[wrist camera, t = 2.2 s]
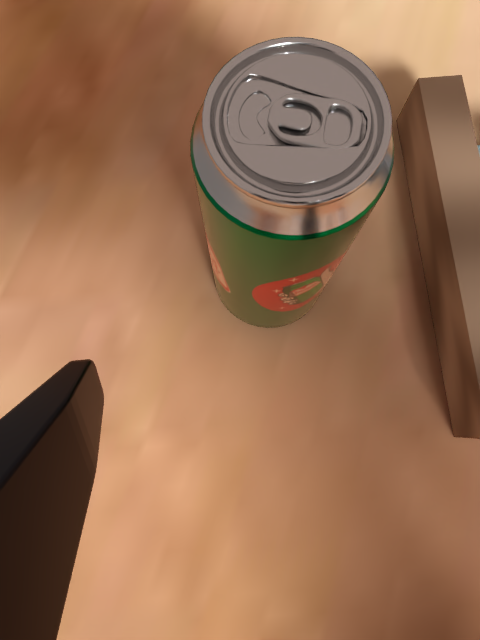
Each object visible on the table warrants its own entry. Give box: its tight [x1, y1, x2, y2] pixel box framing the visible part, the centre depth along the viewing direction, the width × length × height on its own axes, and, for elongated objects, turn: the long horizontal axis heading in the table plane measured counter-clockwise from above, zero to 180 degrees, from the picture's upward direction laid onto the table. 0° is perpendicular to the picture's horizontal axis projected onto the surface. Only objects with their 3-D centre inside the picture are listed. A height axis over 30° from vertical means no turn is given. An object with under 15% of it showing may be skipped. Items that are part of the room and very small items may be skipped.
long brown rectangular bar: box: [397, 75, 480, 439], centre depth 21 cm, size 16×2×3 cm, turn 5°
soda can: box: [190, 37, 394, 328], centre depth 16 cm, size 5×5×12 cm
